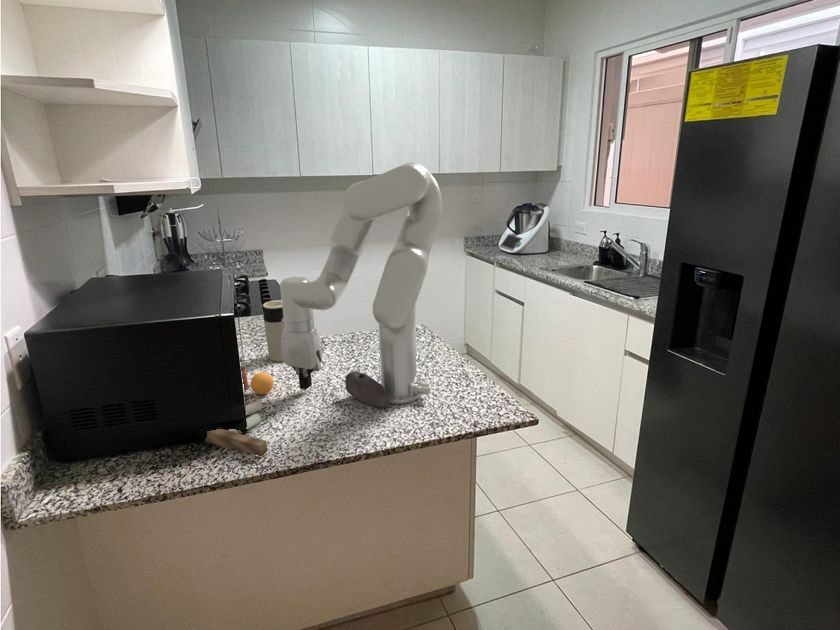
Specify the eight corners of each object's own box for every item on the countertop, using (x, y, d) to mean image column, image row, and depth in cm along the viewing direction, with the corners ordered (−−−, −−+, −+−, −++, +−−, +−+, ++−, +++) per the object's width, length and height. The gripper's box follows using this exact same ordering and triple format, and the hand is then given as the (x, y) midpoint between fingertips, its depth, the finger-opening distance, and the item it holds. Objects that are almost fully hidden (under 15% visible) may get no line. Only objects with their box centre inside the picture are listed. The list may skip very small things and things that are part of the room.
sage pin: (253, 411, 119) (225, 428, 112) (261, 415, 118) (232, 432, 111) (253, 420, 120) (225, 437, 113) (261, 424, 119) (233, 441, 112)
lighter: (222, 387, 137) (216, 354, 134) (231, 382, 140) (226, 350, 137) (242, 393, 133) (237, 359, 130) (252, 388, 136) (247, 355, 133)
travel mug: (279, 364, 151) (272, 309, 145) (263, 358, 156) (256, 304, 150) (299, 355, 157) (294, 302, 151) (284, 350, 162) (277, 298, 156)
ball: (250, 373, 135) (272, 369, 136) (254, 395, 135) (276, 390, 136) (247, 375, 129) (270, 371, 130) (251, 397, 129) (274, 393, 130)
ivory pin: (263, 410, 124) (230, 423, 118) (259, 409, 125) (226, 421, 120) (260, 401, 123) (228, 413, 118) (256, 400, 125) (224, 412, 120)
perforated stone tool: (396, 408, 124) (395, 383, 122) (381, 416, 121) (380, 391, 119) (359, 389, 134) (357, 366, 132) (344, 396, 131) (342, 373, 129)
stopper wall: (267, 452, 107) (266, 440, 106) (261, 457, 105) (260, 445, 104) (206, 435, 114) (204, 424, 113) (200, 439, 112) (197, 428, 111)
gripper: (267, 325, 126) (275, 388, 132) (314, 333, 121) (320, 398, 127) (285, 316, 133) (292, 377, 139) (331, 323, 127) (336, 386, 133)
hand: (306, 387), depth 133 cm, fingers closed
